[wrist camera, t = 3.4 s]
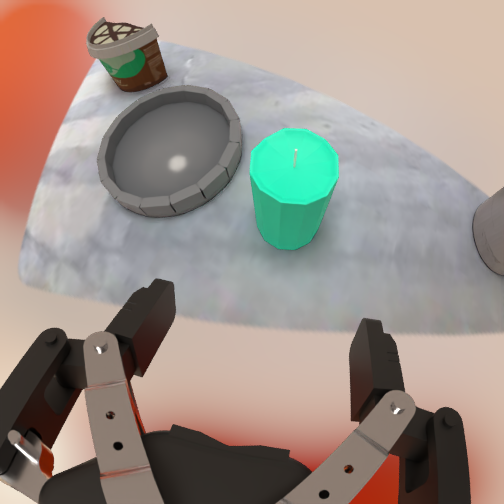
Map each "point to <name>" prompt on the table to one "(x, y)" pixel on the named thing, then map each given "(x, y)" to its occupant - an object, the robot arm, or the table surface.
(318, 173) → the candle
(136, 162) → the plate
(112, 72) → the food container
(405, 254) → the table surface
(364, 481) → the robot arm
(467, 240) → the table surface
